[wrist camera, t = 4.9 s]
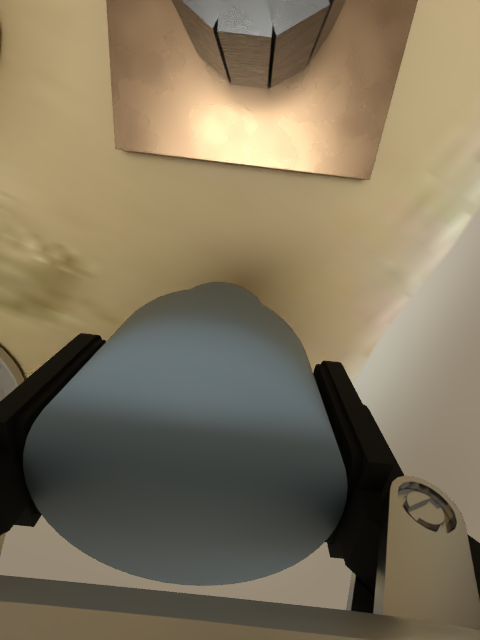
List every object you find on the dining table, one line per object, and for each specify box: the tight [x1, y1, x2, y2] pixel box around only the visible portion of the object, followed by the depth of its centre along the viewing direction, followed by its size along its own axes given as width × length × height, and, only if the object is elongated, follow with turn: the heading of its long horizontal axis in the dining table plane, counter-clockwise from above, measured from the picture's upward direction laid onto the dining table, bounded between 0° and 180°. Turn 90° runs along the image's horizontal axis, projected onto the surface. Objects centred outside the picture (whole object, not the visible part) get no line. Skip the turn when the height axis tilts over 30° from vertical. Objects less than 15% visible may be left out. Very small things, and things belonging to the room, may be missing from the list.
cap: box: [23, 282, 348, 586], centre depth 10 cm, size 7×7×8 cm
